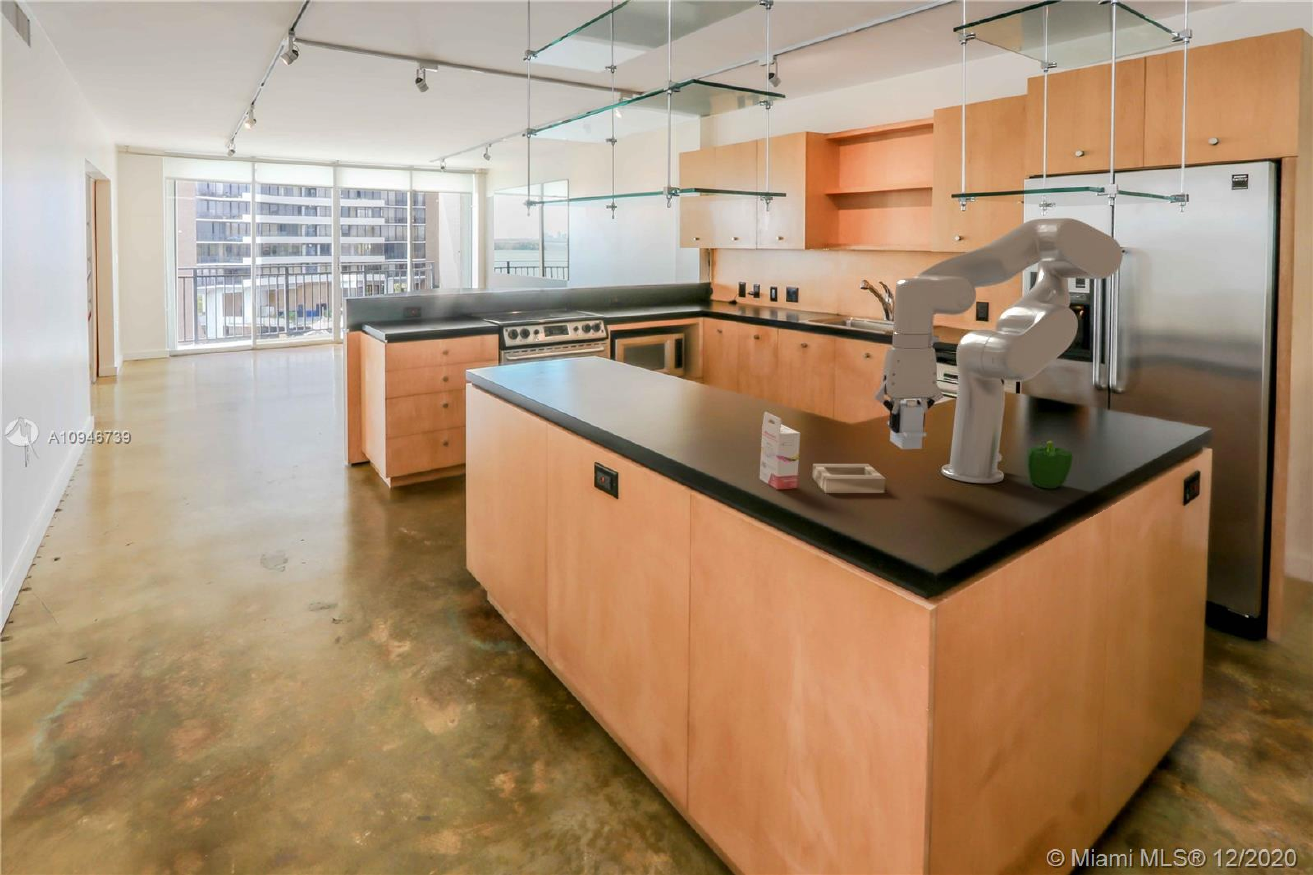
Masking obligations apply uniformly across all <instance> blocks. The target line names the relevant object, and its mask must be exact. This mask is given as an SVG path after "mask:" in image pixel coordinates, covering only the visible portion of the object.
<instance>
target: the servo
mask: <svg viewBox="0 0 1313 875" xmlns="http://www.w3.org/2000/svg"><path fill="white" fill-rule="evenodd" d="M898 411H899V414H900V428H899V433H895V432H893V431H892V430H891V429H890V431H889V432H890V436H889V437H890V438H889V441H890V442H892V444H894V445H896V446H897V447H899V448H900V449H901V450H919V449H921V450H922V448H923V446H922V445H923V437H927V432H925V431H924V430H923V429H924V427H923V419H924V407H923V406H921V405H919V404H917V401H916V399H901V402H900V406H899V410H898ZM887 425H888V426H889V420H888V421H887Z"/></svg>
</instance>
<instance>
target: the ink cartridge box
mask: <svg viewBox="0 0 1313 875" xmlns="http://www.w3.org/2000/svg"><path fill="white" fill-rule="evenodd" d="M770 421H772V422H774V423H771V422H770ZM761 427H762V428H761V442H760V443H761V444H760V447H761V448H760V463H759V464H760V465H759V467H760V468H759V479H760V481H762V482H764V483H765V484H767V485H769V486H770V487H772V488H773V489H775V490H788V489H790V490H791V489H797V488H798V478H799V476H798V475H799V461H800V460H799V458H800V442H801V432H799V431H798V430H797V431H796V430H795V429H792V428H790V427H788V426H786V425H784V424H782V418H780V417H778V416H775V415H773V414H772V413H769V412H767V411H764V414H763V419H762V426H761Z"/></svg>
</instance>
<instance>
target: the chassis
mask: <svg viewBox="0 0 1313 875" xmlns="http://www.w3.org/2000/svg"><path fill="white" fill-rule="evenodd" d="M811 478H812V479H813V481H814V482H816V484H817V485H818V486H819V487H820V488H821V490H823V492H824V493H825V494H885V487H886V486H885V485H886V477H884V476H883V475H882V474H881V473H879V471H878V470H876V469H875V468H874V467H872V466H871V465H870V464H869V463H813V464H812V474H811Z"/></svg>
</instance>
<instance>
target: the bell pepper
mask: <svg viewBox="0 0 1313 875" xmlns="http://www.w3.org/2000/svg"><path fill="white" fill-rule="evenodd" d="M1046 446H1047V447H1046ZM1046 446H1045V445H1038V446H1036V447H1034V446H1033V447H1030V449H1029V450H1028V451H1027V457H1026V466H1027V474H1028V479H1029V482H1030V483H1031V484H1034V485H1035V486H1037V487H1039V488H1044V489H1057V488H1058V487H1062V486H1063V484H1065V482H1066V480H1067V478H1068V476H1069V474H1070V471H1071V467H1072V464H1073V457H1074V456H1073V454H1072V451H1070V450H1069V451H1068V450H1065V449H1064V448H1062V447H1054V442H1053V440H1048V441H1047V442H1046Z"/></svg>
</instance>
